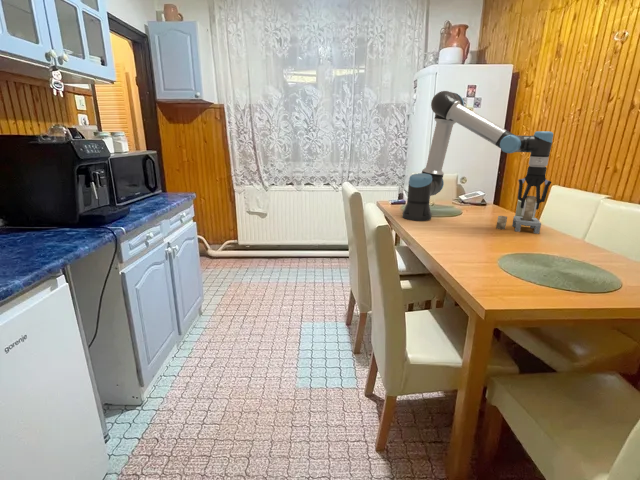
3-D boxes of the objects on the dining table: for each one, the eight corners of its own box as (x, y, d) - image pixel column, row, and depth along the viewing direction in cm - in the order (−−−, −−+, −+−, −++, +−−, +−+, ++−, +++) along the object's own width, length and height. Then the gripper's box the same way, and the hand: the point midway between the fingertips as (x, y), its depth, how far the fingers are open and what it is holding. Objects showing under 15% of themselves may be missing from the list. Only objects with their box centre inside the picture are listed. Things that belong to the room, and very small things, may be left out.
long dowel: (521, 225, 168) (527, 196, 164) (520, 223, 171) (526, 195, 167) (531, 226, 166) (537, 197, 162) (529, 224, 170) (535, 196, 166)
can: (537, 225, 178) (542, 202, 175) (519, 224, 178) (523, 201, 175) (527, 220, 187) (531, 198, 183) (510, 220, 187) (514, 198, 184)
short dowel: (496, 229, 170) (498, 217, 168) (495, 227, 173) (497, 215, 171) (505, 229, 168) (507, 217, 166) (504, 228, 172) (506, 216, 170)
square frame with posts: (515, 231, 166) (517, 221, 164) (512, 225, 177) (513, 216, 175) (539, 233, 162) (541, 223, 161) (534, 227, 173) (536, 218, 172)
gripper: (518, 165, 160) (509, 215, 167) (560, 167, 154) (549, 218, 161) (516, 164, 167) (507, 212, 174) (556, 166, 161) (546, 215, 168)
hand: (527, 215), depth 167 cm, fingers closed on long dowel, 4 cm apart
